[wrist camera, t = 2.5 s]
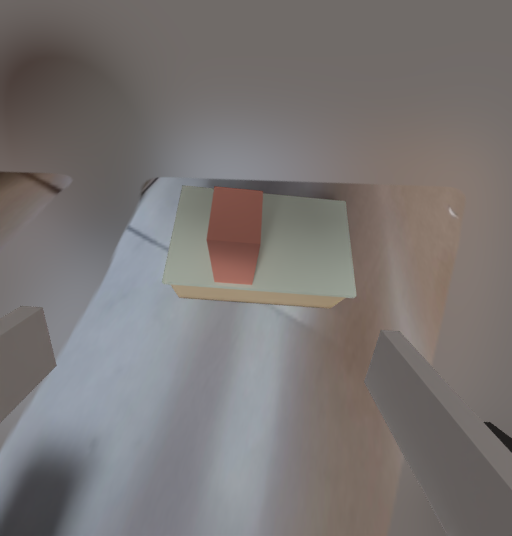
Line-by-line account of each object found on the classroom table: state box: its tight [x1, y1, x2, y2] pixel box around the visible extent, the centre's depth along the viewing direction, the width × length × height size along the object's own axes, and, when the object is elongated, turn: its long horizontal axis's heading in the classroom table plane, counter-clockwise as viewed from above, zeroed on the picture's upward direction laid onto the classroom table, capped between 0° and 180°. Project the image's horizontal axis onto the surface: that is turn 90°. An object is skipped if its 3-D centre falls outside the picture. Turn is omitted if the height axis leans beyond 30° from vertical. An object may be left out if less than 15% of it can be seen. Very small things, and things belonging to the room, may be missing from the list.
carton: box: [171, 285, 344, 308], centre depth 33 cm, size 20×12×6 cm, turn 87°
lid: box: [162, 185, 356, 298], centre depth 26 cm, size 21×13×10 cm, turn 87°
